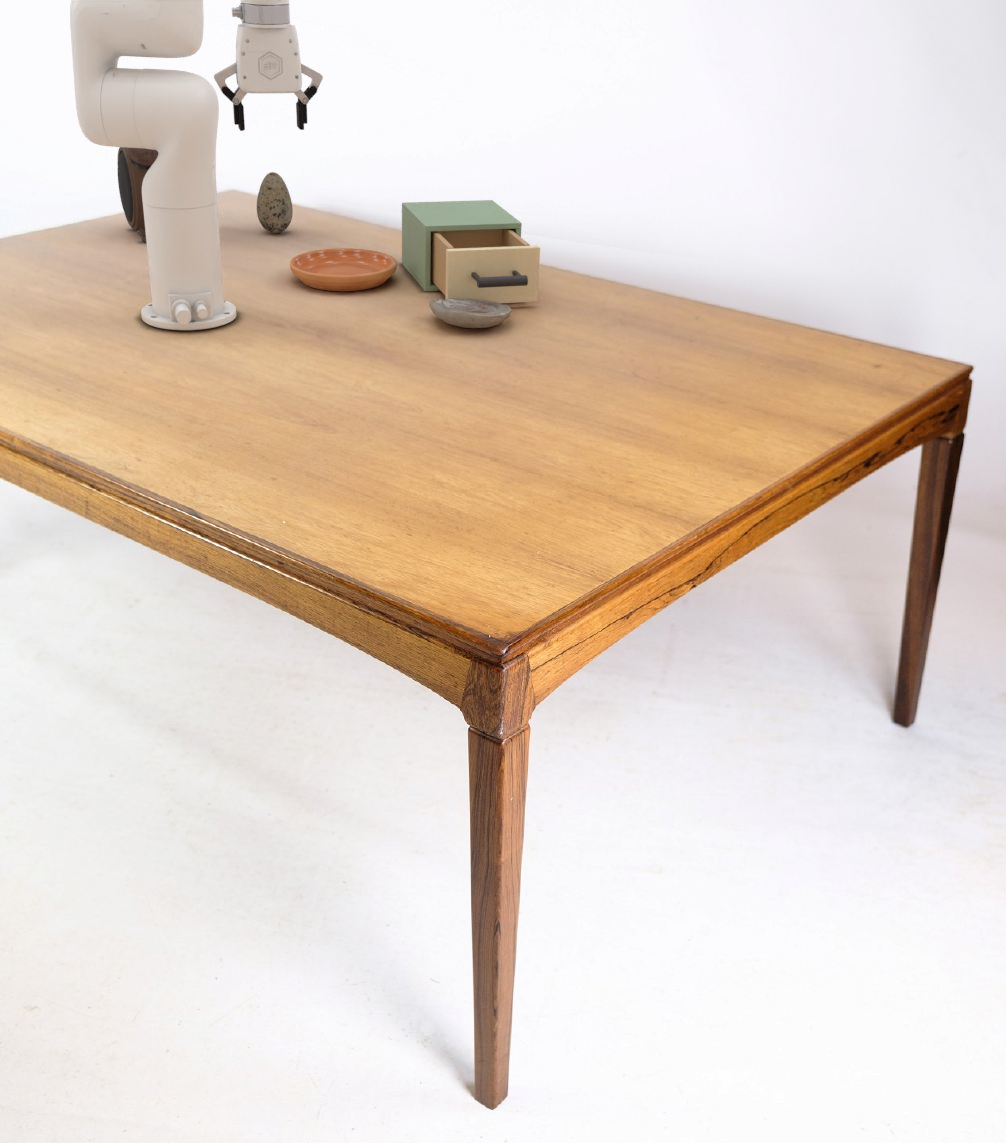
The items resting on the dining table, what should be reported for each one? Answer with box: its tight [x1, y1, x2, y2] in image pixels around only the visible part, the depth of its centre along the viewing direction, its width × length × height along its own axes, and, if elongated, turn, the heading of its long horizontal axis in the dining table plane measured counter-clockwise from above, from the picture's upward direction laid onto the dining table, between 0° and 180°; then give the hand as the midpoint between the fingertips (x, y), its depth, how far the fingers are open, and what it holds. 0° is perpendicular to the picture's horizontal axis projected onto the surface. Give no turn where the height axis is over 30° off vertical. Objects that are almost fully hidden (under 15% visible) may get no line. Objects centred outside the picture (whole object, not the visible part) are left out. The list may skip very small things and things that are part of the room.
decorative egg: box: [256, 171, 294, 234], centre depth 217 cm, size 6×6×10 cm
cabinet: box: [401, 199, 522, 292], centre depth 198 cm, size 16×15×10 cm
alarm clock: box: [117, 147, 159, 243], centre depth 210 cm, size 15×7×20 cm, turn 25°
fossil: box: [428, 298, 513, 329], centre depth 177 cm, size 10×12×3 cm
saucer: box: [289, 247, 398, 292], centre depth 194 cm, size 16×16×3 cm
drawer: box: [430, 229, 541, 304], centre depth 186 cm, size 19×13×8 cm
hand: (271, 129), depth 212 cm, fingers open, 9 cm apart
